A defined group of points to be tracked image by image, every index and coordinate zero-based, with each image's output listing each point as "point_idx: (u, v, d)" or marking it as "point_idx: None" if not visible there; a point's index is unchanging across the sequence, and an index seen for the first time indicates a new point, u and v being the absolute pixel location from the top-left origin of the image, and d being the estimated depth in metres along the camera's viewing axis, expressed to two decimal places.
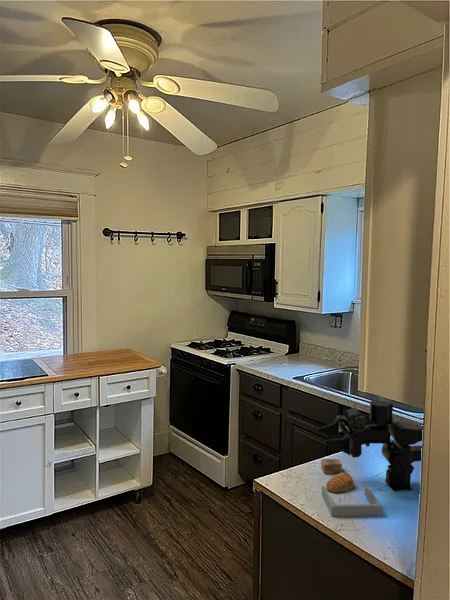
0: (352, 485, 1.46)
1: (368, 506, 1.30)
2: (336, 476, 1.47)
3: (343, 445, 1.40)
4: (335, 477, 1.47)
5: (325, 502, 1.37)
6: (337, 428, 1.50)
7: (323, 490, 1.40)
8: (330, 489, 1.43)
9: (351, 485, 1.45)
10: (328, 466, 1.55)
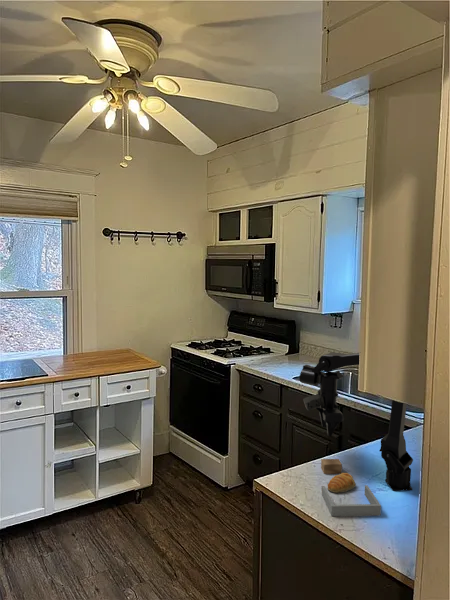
0: (353, 485, 1.45)
1: (368, 506, 1.30)
2: (337, 476, 1.47)
3: (332, 421, 1.57)
4: (336, 477, 1.46)
5: (325, 502, 1.37)
6: (323, 409, 1.67)
7: (323, 490, 1.40)
8: (331, 490, 1.43)
9: (352, 485, 1.45)
10: (328, 466, 1.55)
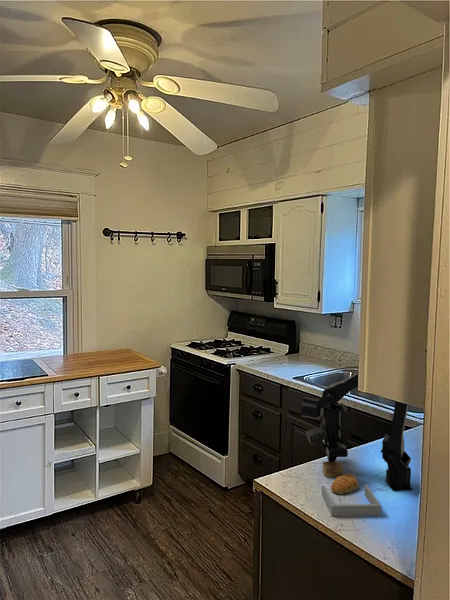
0: (356, 486, 1.45)
1: (368, 506, 1.30)
2: (340, 477, 1.46)
3: None
4: (339, 479, 1.46)
5: (325, 502, 1.37)
6: None
7: (323, 490, 1.40)
8: (335, 491, 1.42)
9: (356, 486, 1.45)
10: (329, 468, 1.53)
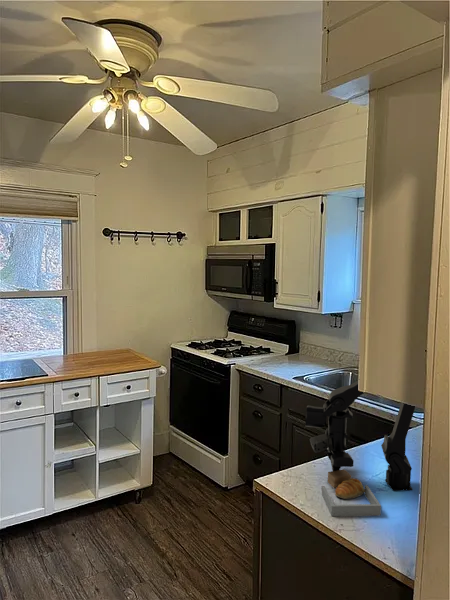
0: (362, 491, 1.41)
1: (368, 506, 1.30)
2: (345, 482, 1.43)
3: None
4: (344, 483, 1.43)
5: (325, 502, 1.37)
6: None
7: (323, 490, 1.40)
8: (338, 495, 1.39)
9: (361, 491, 1.41)
10: (338, 479, 1.46)
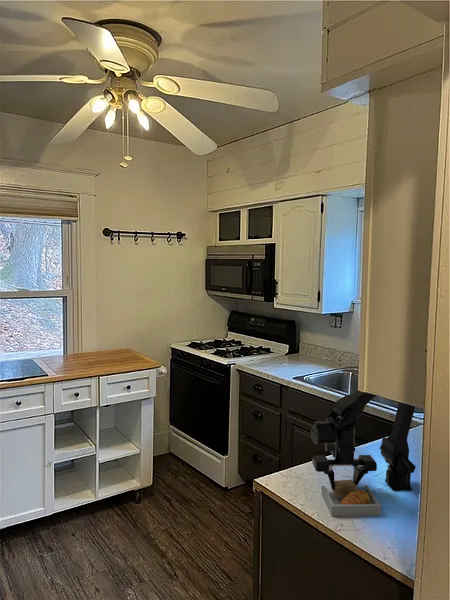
0: None
1: (368, 506, 1.30)
2: (352, 494, 1.36)
3: None
4: (350, 495, 1.36)
5: (325, 502, 1.37)
6: (355, 468, 1.43)
7: (323, 490, 1.40)
8: None
9: None
10: (342, 488, 1.40)
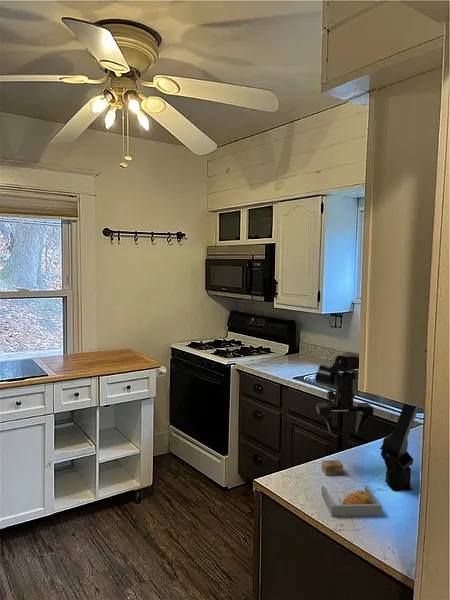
0: None
1: (368, 506, 1.30)
2: (352, 495, 1.36)
3: None
4: (351, 496, 1.35)
5: (325, 502, 1.37)
6: (358, 414, 1.59)
7: (323, 490, 1.40)
8: None
9: None
10: (329, 467, 1.54)
